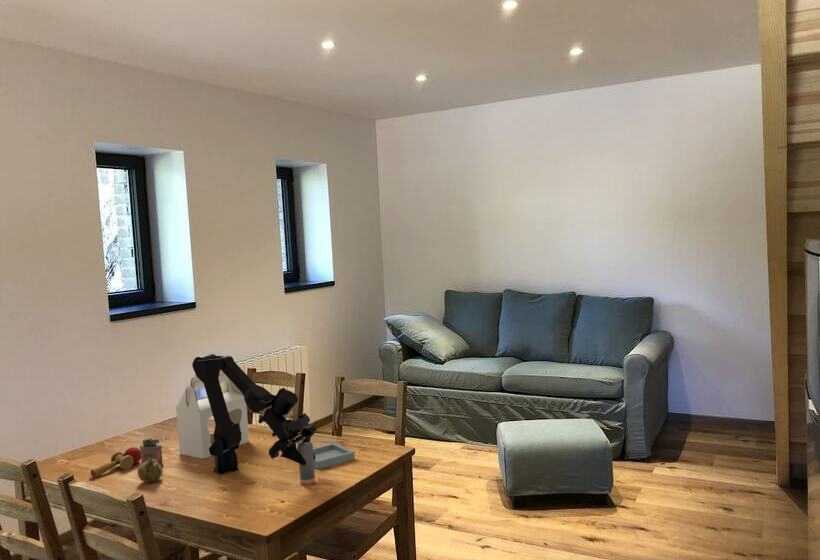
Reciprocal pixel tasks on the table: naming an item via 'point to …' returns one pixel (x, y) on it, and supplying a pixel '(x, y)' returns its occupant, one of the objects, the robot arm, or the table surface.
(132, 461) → the kendama
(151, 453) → the lighter
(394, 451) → the table surface
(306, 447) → the grey rounded peg
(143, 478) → the olive green lumpy ball
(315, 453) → the tray
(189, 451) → the gable box
